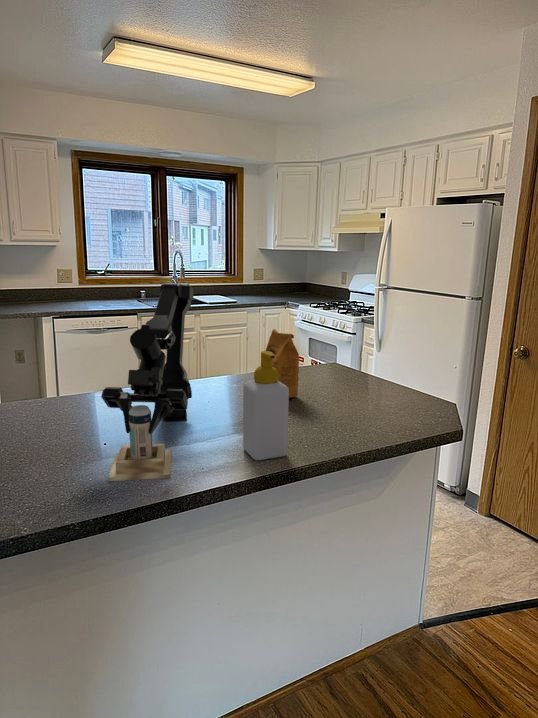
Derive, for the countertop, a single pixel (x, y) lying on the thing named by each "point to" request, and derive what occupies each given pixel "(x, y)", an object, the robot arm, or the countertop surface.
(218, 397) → the countertop surface
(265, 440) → the soap bottle
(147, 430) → the beer can
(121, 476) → the socket board
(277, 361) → the coffee package
